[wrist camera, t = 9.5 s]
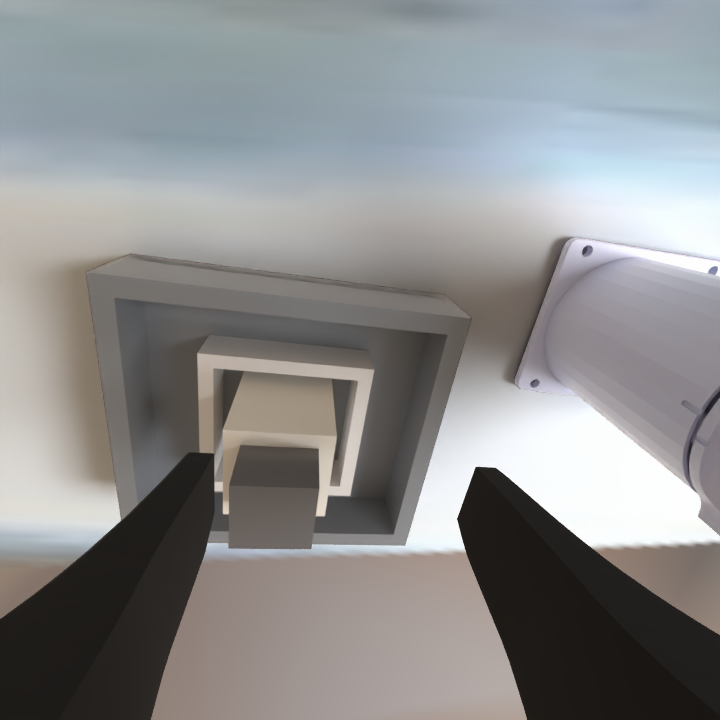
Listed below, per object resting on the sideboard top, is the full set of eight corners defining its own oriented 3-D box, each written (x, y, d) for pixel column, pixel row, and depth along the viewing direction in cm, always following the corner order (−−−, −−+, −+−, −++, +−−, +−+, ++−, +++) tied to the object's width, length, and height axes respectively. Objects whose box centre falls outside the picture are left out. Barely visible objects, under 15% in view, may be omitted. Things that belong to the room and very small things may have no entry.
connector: (331, 373, 18) (340, 474, 12) (322, 440, 20) (326, 560, 14) (245, 366, 18) (208, 469, 11) (244, 436, 19) (210, 560, 13)
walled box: (444, 294, 18) (471, 318, 15) (392, 496, 24) (405, 545, 20) (130, 253, 16) (85, 271, 13) (152, 487, 21) (124, 541, 18)
